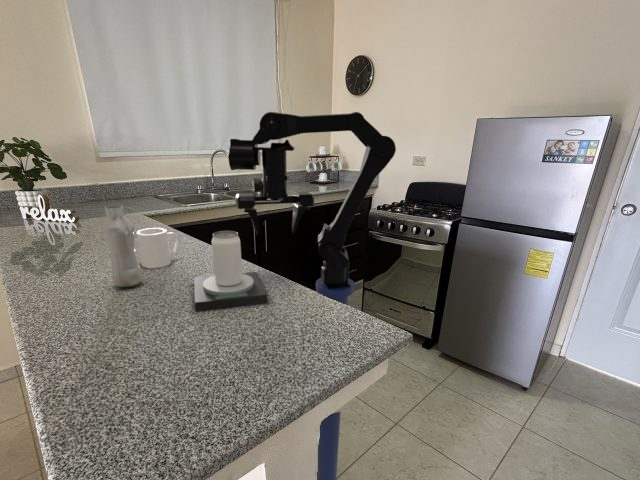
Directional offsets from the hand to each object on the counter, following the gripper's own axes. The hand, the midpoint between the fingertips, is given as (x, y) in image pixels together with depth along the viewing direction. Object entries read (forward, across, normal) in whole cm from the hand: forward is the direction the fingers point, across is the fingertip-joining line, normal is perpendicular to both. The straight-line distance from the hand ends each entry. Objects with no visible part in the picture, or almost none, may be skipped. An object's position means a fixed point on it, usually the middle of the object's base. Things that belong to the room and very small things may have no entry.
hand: (275, 233), depth 89 cm
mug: (+13, +30, -23) cm, 40 cm away
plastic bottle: (+13, +37, -7) cm, 40 cm away
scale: (+13, +13, +5) cm, 19 cm away
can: (+10, +13, +5) cm, 17 cm away
